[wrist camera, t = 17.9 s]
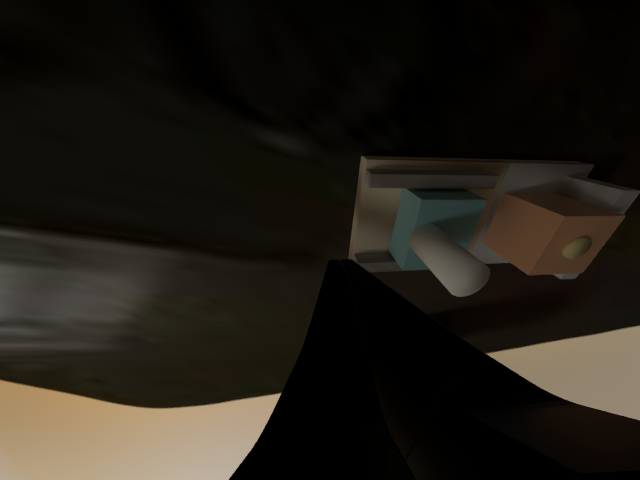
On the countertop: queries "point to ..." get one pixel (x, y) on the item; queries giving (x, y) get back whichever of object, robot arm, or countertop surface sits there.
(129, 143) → the countertop surface
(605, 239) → the box
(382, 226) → the frame
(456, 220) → the ram
